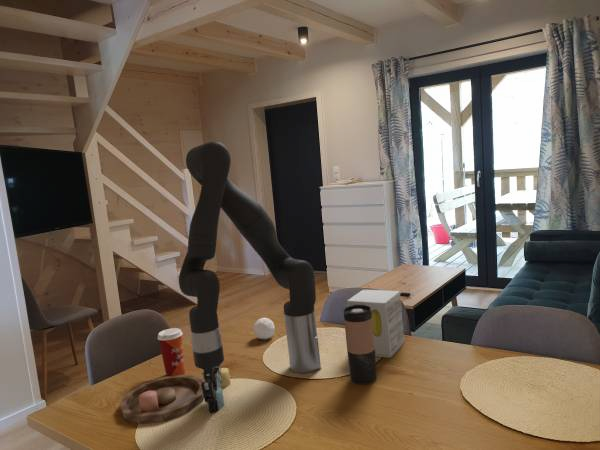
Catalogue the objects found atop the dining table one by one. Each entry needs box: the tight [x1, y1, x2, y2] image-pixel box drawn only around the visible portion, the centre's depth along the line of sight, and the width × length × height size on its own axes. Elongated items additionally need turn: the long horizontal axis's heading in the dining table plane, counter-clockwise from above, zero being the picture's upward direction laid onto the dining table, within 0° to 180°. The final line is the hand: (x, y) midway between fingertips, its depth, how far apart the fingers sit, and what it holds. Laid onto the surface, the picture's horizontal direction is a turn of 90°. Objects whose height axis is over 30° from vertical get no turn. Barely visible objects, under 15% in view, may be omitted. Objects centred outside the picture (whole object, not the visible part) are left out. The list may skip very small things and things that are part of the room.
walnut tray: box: [119, 374, 205, 425], centre depth 123 cm, size 22×22×3 cm
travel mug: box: [343, 305, 378, 385], centre depth 124 cm, size 8×8×20 cm
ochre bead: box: [220, 367, 231, 389], centre depth 129 cm, size 4×4×5 cm
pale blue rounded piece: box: [205, 387, 225, 411], centre depth 117 cm, size 4×4×5 cm
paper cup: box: [157, 327, 186, 377], centre depth 141 cm, size 8×8×14 cm
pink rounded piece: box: [139, 391, 159, 413], centre depth 117 cm, size 4×4×5 cm
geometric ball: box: [252, 317, 275, 341], centre depth 164 cm, size 8×8×8 cm
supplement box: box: [346, 289, 405, 359], centre depth 144 cm, size 13×13×18 cm
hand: (215, 408), depth 117 cm, fingers closed on pale blue rounded piece, 4 cm apart
